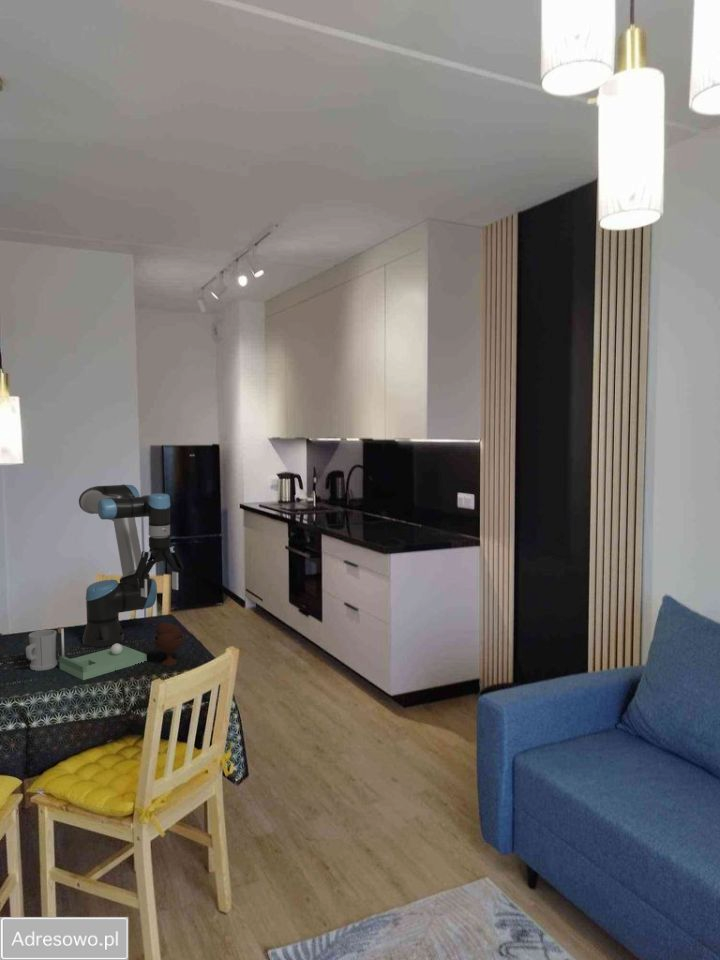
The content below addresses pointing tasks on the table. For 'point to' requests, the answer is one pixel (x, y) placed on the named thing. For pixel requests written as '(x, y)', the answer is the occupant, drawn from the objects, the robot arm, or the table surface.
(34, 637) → the cup
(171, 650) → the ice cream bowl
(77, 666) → the putting mat
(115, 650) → the ball
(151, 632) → the table surface
